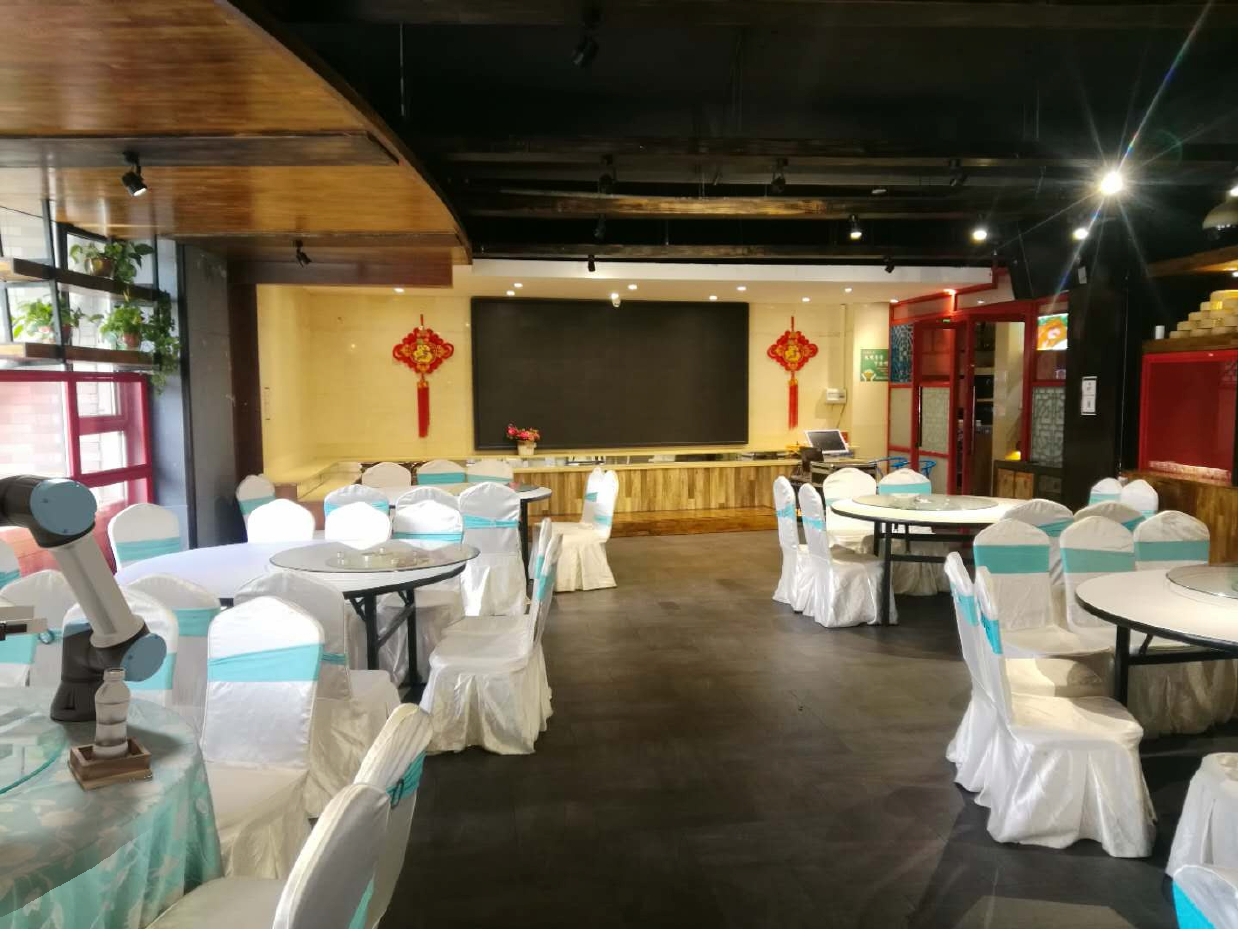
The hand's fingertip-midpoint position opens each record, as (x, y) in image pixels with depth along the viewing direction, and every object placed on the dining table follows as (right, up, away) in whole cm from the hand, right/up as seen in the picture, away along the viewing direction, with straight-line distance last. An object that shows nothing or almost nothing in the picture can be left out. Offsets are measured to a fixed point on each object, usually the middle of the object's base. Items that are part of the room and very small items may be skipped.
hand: (40, 618), depth 168 cm
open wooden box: (+10, -33, +6) cm, 35 cm away
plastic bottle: (+10, -32, +6) cm, 34 cm away
